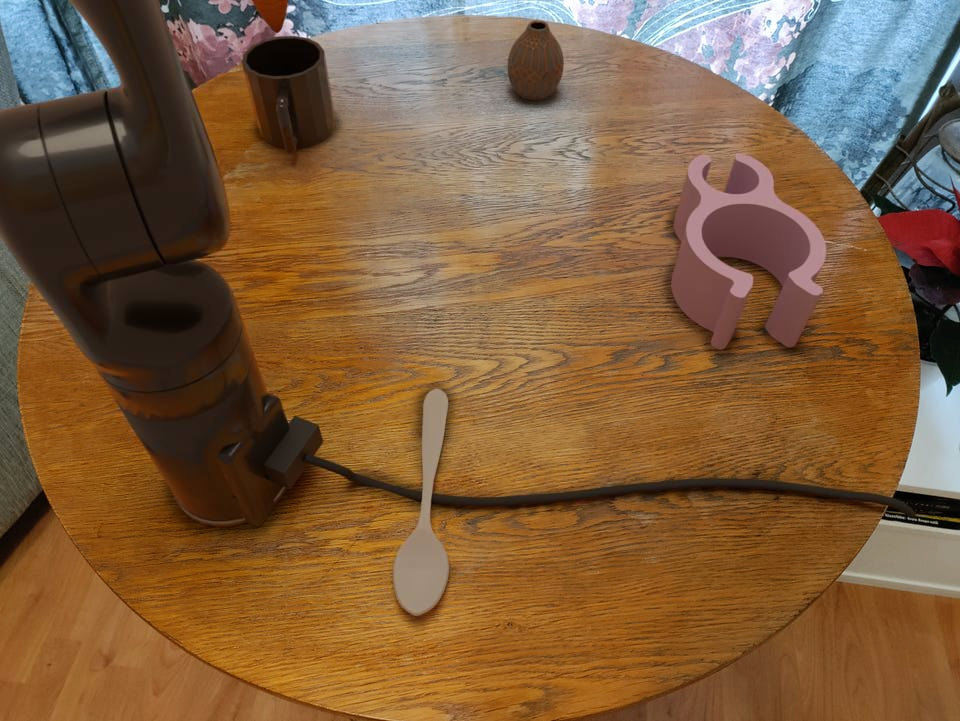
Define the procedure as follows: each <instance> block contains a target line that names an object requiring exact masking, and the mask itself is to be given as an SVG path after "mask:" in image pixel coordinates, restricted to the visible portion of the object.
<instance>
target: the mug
mask: <svg viewBox="0 0 960 721" xmlns="http://www.w3.org/2000/svg"><path fill="white" fill-rule="evenodd" d="M241 66H242V70H243V74H244V77H245V80H246V84H247V89H248V94H249V97H250V100H251V105H252V109H253V113H254V117H255V120H256V124H257V127H258V129H259V134H260V137H262V139H263V140H264V141H265V142H266V143H268V144H270V145H272V146H274V147H276V148H277V147H278V148H280V149H281V148H282V149H284V150H285V152H286V153H288V154H294V153H295V152H296V151H297V149H304V148H309V147H312V146H315V145H318V144H320V143H321V142H323V141H326V140H327V139H328V138H329V137H330V136H331V135H332V134H333V132H334V131H335V128H336V117H335V109H334V101H333V96H332V90H331V83H330V77H329V71H328V64H327V60H326V53H325V50H324V48H323V47H322V46H321V44H320V43H319V42H317V41H316V40H315V41H314V40H313V39H311V38H309V37H303V36H297V35H282V36H281V35H279V36H274V37H269V38H266V39H263V40H260V41H258V42H257V43H254V44H252V45H250V47H248V48H247V50H246V51H245V52H244V53H243V54H242V59H241Z"/></svg>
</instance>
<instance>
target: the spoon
mask: <svg viewBox="0 0 960 721" xmlns="http://www.w3.org/2000/svg"><path fill="white" fill-rule="evenodd" d="M422 410H423V411H422V427H421V428H422V429H421V463H422V491H421V492H422V501H421V503H420V513H419V517H418V522H417V524H416V526H415V528H414V530H413V531H412V532H411V534H410V535H409V536H408V537H407V538H406V539H405V541H404V542H403V543H402V544H401V546H400V547H399V549H398V550H397V552H396V555H395V558H394V561H393V565H392V582H393V587H394V588H393V589H394V594H395V596H396V599H397V601H398V603H399V605H400V607H401V608H402V609H404V610H405V612H407V613H409V614H410V615H412V616H417V617H418V616H421V615H423V614H426V613H428V612H429V611H430V610H432V609H434V607H435V606H436V605H437V604H438V602H439V601H440V599H441V598H442V596H443V594H444V592H445V589H446V586H447V584H448V581H449V575H450V574H449V573H450V562H449V555H448V553H447V551H446V549H445V547H444V545H443V543H442V542H441V541H440V539H439V538H438V537H437V536H436V534H435V533H434V531H433V529H432V524H431V506H432V502H431V497H432V493H433V489H434V482H435V476H436V472H437V469H438V464H439V460H440V457H441V452H442V448H443V443H444V437H445V430H446V422H447V417H448V416H447V415H448V410H449V399H448V395H447V394H446V393H445V391H444V390H442V389H440V388H434V389H432V390H430V391H429V392H428V393H426V395H425V397H424V400H423V405H422Z"/></svg>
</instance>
